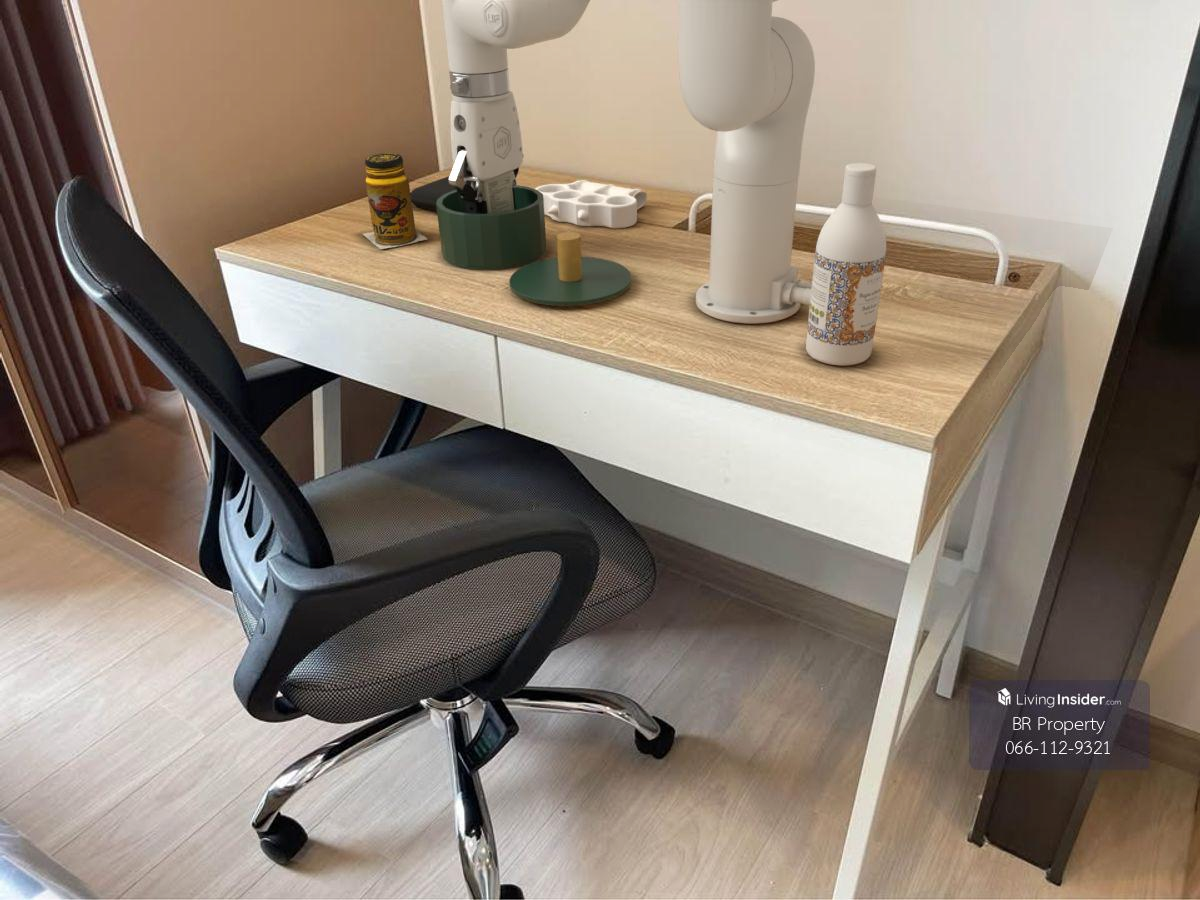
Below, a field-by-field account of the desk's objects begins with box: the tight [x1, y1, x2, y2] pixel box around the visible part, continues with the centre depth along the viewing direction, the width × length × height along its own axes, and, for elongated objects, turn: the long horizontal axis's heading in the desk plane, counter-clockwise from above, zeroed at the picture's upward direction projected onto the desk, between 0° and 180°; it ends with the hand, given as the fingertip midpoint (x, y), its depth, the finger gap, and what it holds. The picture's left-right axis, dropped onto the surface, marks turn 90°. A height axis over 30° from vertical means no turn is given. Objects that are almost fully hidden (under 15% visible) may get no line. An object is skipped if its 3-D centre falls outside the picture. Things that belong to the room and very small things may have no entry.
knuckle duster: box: [534, 179, 648, 230], centre depth 142 cm, size 3×18×15 cm
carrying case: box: [410, 175, 456, 212], centre depth 150 cm, size 11×3×15 cm
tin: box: [436, 184, 547, 271], centre depth 127 cm, size 15×15×8 cm
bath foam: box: [805, 162, 887, 367], centre depth 93 cm, size 7×7×20 cm
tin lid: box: [509, 231, 633, 307], centre depth 115 cm, size 16×16×7 cm
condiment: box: [361, 152, 428, 250], centre depth 132 cm, size 7×8×12 cm
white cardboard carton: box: [471, 171, 514, 214], centre depth 126 cm, size 5×4×10 cm
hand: (492, 221), depth 127 cm, fingers closed on white cardboard carton, 5 cm apart
